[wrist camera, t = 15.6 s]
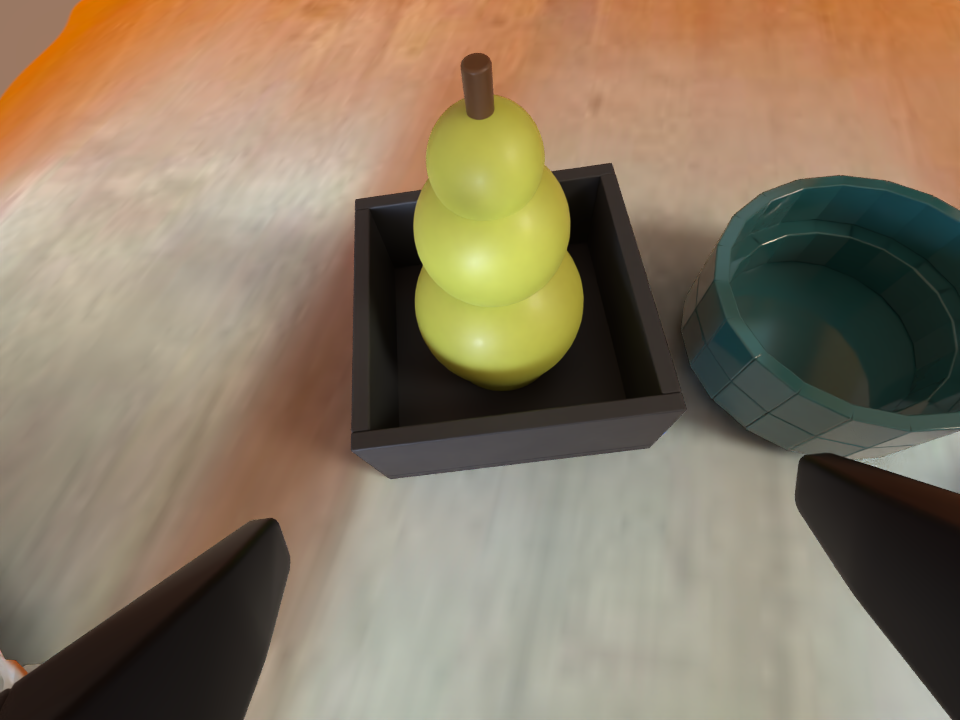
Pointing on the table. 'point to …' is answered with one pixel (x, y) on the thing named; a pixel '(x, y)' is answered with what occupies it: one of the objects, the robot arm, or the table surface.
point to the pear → (493, 243)
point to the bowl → (833, 317)
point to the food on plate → (12, 672)
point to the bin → (535, 407)
